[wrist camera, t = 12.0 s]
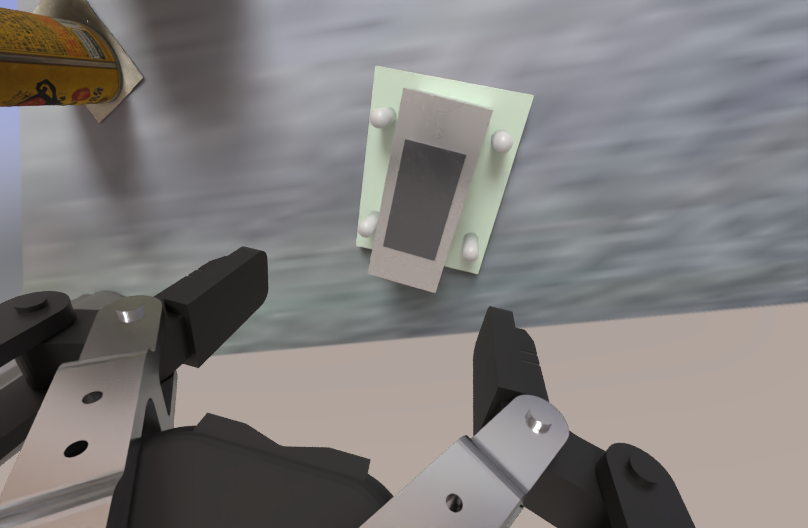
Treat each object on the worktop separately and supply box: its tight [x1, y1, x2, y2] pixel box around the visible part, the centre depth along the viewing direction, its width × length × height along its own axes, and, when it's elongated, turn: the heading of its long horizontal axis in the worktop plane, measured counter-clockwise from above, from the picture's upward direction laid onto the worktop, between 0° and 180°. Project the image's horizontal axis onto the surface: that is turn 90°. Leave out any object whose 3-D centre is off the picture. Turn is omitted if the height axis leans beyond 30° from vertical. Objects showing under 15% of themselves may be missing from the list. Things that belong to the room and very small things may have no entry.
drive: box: [368, 88, 493, 293], centre depth 23 cm, size 12×5×6 cm, turn 167°
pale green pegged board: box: [356, 66, 534, 274], centre depth 25 cm, size 14×11×4 cm
